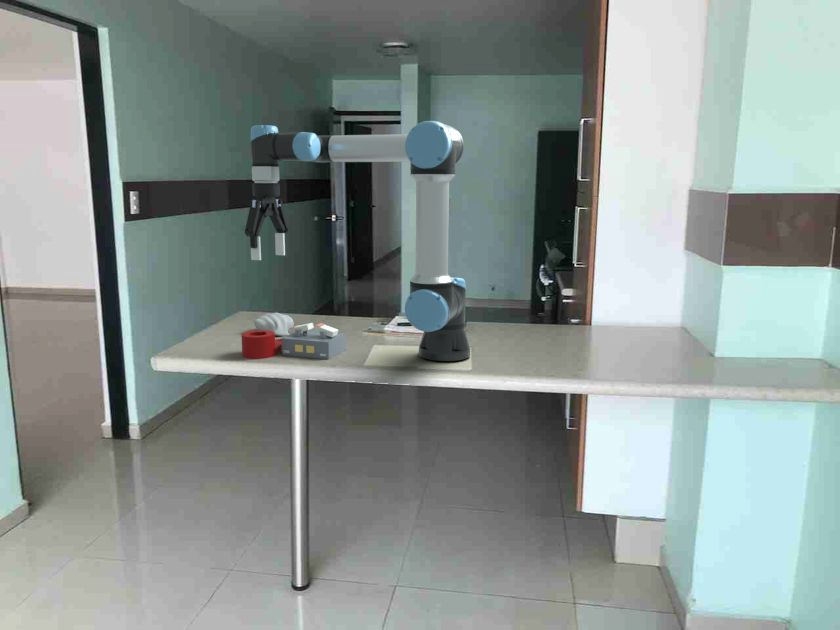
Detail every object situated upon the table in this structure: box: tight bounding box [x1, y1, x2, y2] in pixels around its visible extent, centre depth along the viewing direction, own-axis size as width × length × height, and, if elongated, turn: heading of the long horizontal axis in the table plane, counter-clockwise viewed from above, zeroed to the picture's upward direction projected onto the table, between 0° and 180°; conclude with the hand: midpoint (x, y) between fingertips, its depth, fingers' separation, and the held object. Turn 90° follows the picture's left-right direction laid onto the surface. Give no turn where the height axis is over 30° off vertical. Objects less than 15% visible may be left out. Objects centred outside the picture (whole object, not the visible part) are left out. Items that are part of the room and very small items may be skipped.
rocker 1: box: [289, 322, 315, 334], centre depth 200 cm, size 6×4×2 cm, turn 72°
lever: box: [240, 329, 282, 360], centre depth 200 cm, size 18×9×7 cm, turn 159°
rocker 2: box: [313, 322, 339, 337], centre depth 198 cm, size 6×4×2 cm, turn 72°
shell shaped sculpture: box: [253, 312, 295, 337], centre depth 224 cm, size 13×13×6 cm
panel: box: [280, 329, 347, 360], centre depth 199 cm, size 15×12×7 cm
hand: (268, 257), depth 194 cm, fingers open, 13 cm apart
